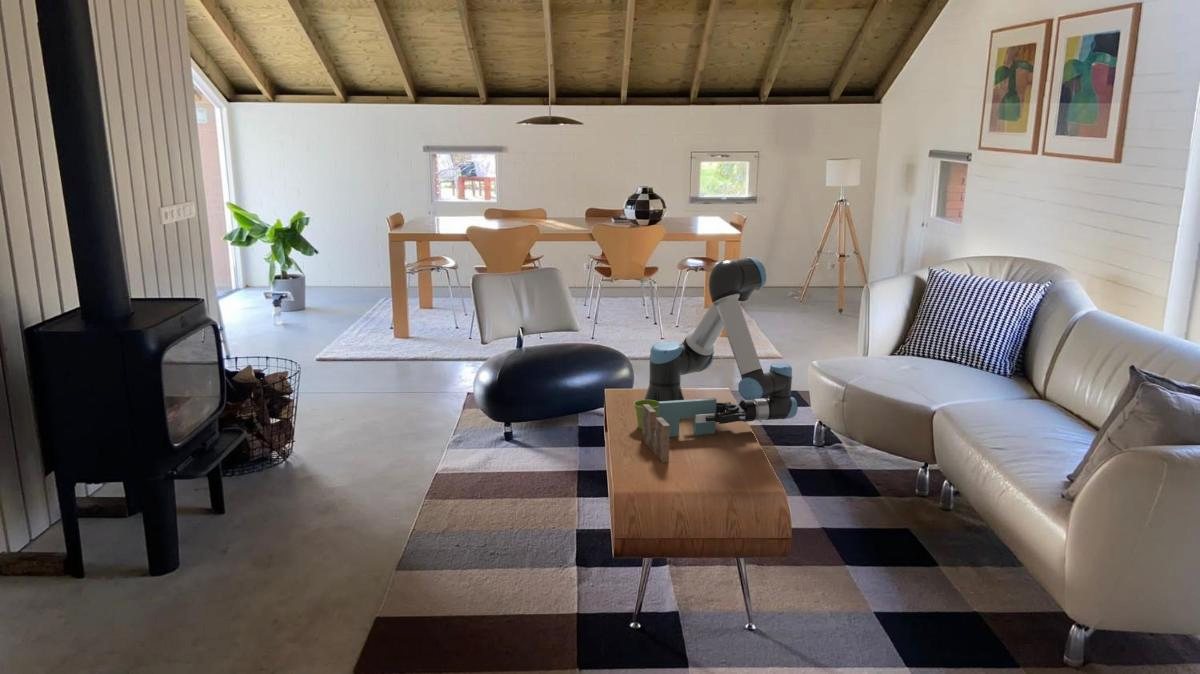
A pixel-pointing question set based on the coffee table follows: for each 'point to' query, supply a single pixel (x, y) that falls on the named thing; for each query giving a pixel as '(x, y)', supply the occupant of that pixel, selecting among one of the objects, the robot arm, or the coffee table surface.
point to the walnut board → (655, 433)
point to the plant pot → (639, 409)
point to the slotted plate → (687, 414)
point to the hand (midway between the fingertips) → (690, 414)
